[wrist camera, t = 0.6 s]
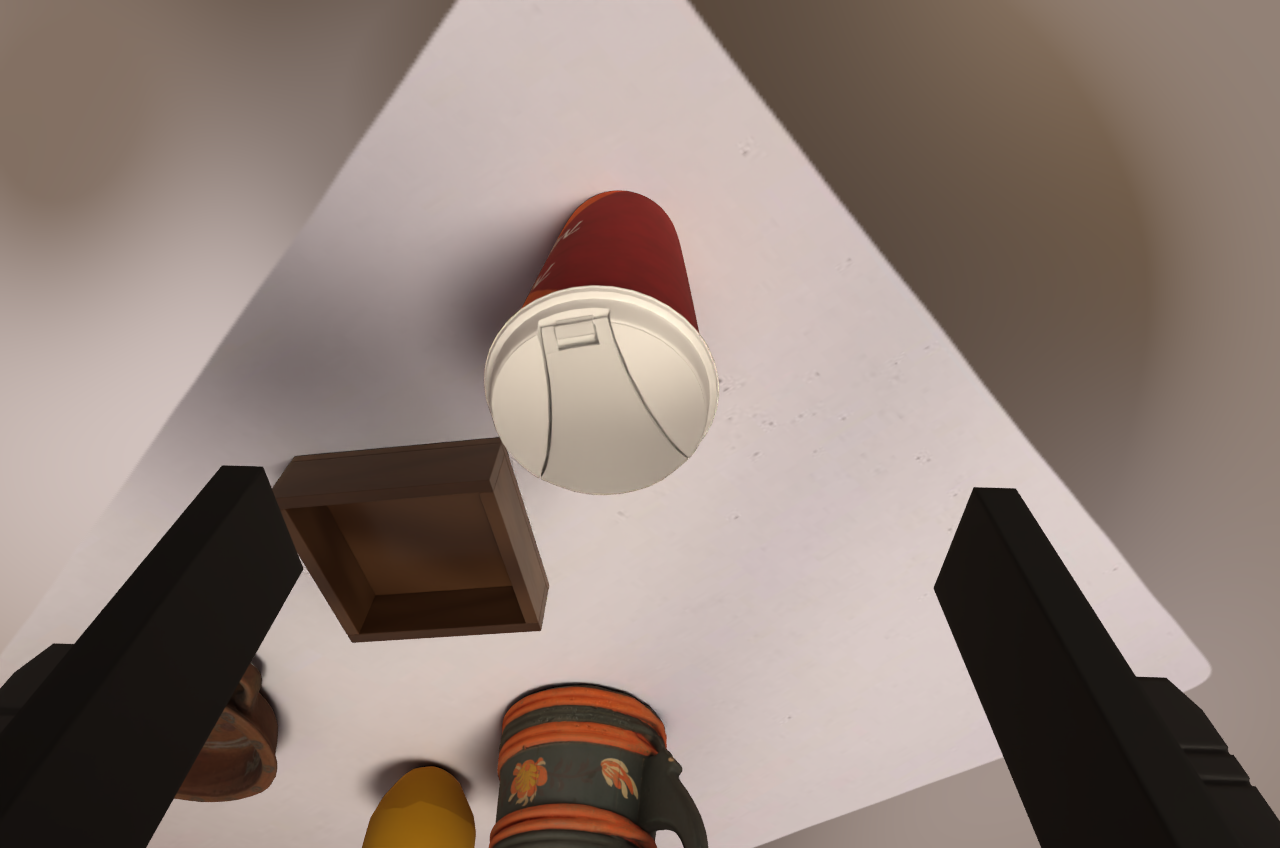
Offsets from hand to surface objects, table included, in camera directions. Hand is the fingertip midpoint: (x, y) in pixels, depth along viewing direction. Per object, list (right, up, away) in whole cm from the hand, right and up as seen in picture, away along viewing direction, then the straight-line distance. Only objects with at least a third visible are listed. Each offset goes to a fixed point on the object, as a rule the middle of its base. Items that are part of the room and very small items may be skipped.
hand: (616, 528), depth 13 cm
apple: (-19, -32, +54) cm, 66 cm away
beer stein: (-3, -24, +48) cm, 54 cm away
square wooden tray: (-14, -5, +34) cm, 37 cm away
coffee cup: (0, +11, +22) cm, 25 cm away
